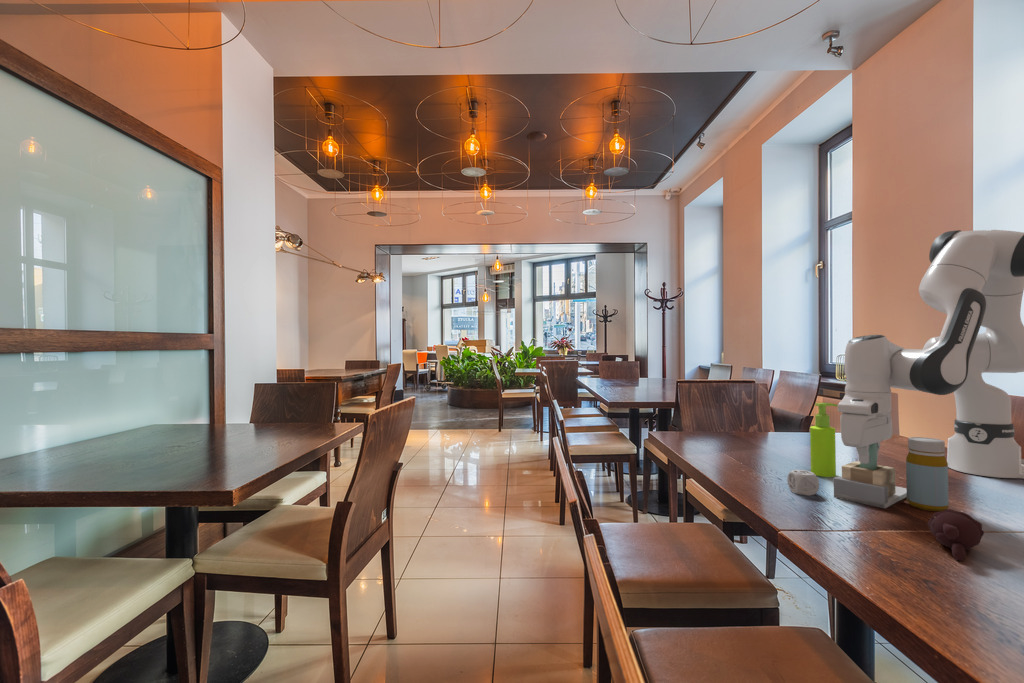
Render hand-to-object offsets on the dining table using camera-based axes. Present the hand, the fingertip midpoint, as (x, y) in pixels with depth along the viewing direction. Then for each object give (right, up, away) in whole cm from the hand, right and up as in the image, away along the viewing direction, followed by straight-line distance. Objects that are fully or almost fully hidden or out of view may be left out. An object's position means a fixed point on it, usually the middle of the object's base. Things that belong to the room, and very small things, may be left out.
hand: (868, 461), depth 112 cm
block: (0, -7, 0) cm, 7 cm away
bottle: (+8, -9, -6) cm, 14 cm away
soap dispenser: (+3, -9, +20) cm, 22 cm away
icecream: (-5, -9, -28) cm, 29 cm away
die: (-13, -9, +5) cm, 16 cm away
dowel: (0, -4, 0) cm, 4 cm away
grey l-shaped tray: (+2, -9, +2) cm, 9 cm away
